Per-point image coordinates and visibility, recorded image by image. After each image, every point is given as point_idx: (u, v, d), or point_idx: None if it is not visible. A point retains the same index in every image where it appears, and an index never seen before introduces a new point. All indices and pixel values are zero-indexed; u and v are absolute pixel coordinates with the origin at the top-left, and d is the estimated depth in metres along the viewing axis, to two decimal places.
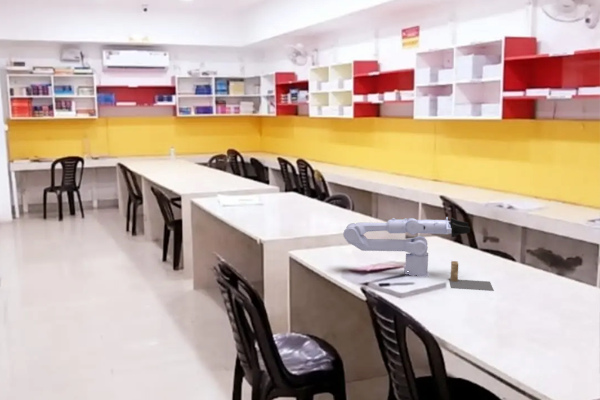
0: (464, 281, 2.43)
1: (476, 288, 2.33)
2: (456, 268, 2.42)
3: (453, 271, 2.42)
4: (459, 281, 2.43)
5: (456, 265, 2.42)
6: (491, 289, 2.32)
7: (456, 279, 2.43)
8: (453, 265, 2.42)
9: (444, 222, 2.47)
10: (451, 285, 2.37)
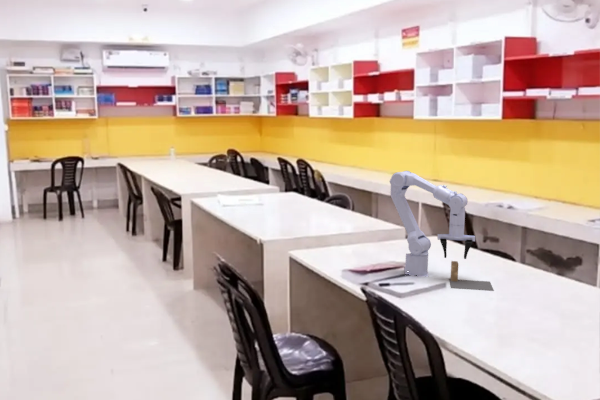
0: (464, 281, 2.43)
1: (476, 288, 2.33)
2: (456, 268, 2.42)
3: (453, 271, 2.42)
4: (459, 281, 2.43)
5: (456, 265, 2.42)
6: (491, 289, 2.32)
7: (456, 279, 2.43)
8: (453, 265, 2.42)
9: (452, 234, 2.41)
10: (451, 285, 2.37)
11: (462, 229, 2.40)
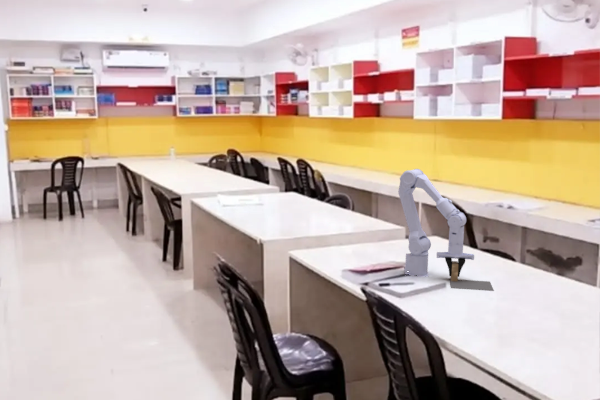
0: (464, 281, 2.43)
1: (476, 288, 2.33)
2: (456, 268, 2.42)
3: (453, 271, 2.42)
4: (459, 281, 2.43)
5: (456, 265, 2.42)
6: (491, 289, 2.32)
7: (456, 279, 2.43)
8: (453, 265, 2.42)
9: (451, 253, 2.42)
10: (451, 285, 2.37)
11: (461, 248, 2.41)
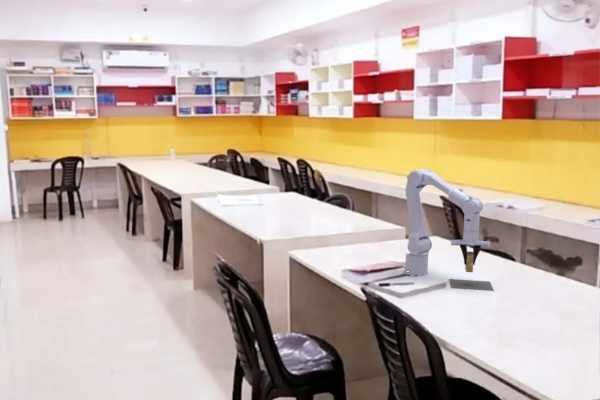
0: (464, 281, 2.43)
1: (476, 288, 2.33)
2: (472, 258, 2.34)
3: (468, 262, 2.35)
4: (459, 281, 2.43)
5: (471, 255, 2.34)
6: (491, 289, 2.32)
7: (471, 270, 2.35)
8: (468, 255, 2.34)
9: (466, 240, 2.34)
10: (451, 285, 2.37)
11: (477, 235, 2.33)
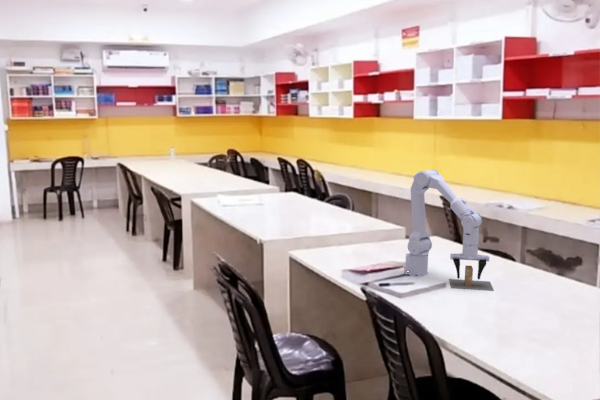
0: (464, 281, 2.43)
1: (476, 288, 2.33)
2: (471, 272, 2.35)
3: (467, 276, 2.36)
4: (459, 281, 2.43)
5: (470, 270, 2.35)
6: (491, 289, 2.32)
7: (470, 284, 2.36)
8: (467, 270, 2.35)
9: (466, 254, 2.35)
10: (451, 285, 2.37)
11: (476, 249, 2.34)
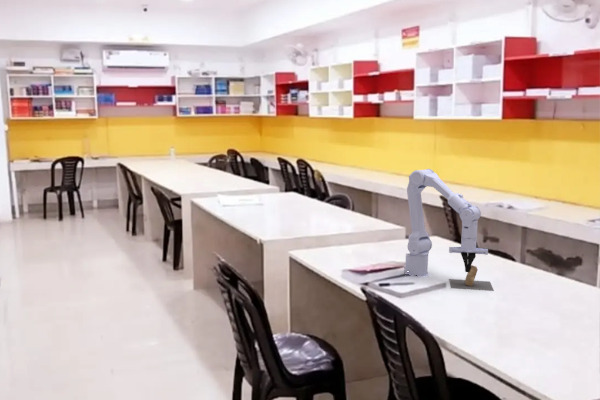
0: (464, 281, 2.43)
1: (476, 288, 2.33)
2: (475, 273, 2.35)
3: (470, 275, 2.35)
4: (459, 281, 2.43)
5: (475, 270, 2.35)
6: (491, 289, 2.32)
7: (471, 284, 2.36)
8: (472, 269, 2.35)
9: (464, 247, 2.34)
10: (451, 285, 2.37)
11: (474, 242, 2.34)
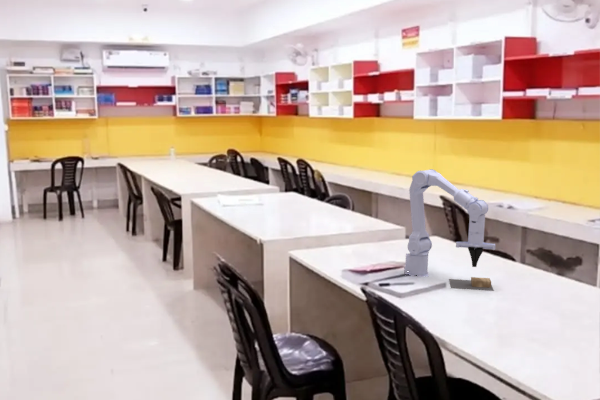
0: (464, 281, 2.43)
1: (476, 288, 2.33)
2: (486, 286, 2.35)
3: (483, 282, 2.35)
4: (459, 281, 2.43)
5: (489, 285, 2.35)
6: (491, 289, 2.32)
7: (474, 285, 2.36)
8: (489, 282, 2.34)
9: (472, 242, 2.33)
10: (451, 285, 2.37)
11: (482, 237, 2.32)
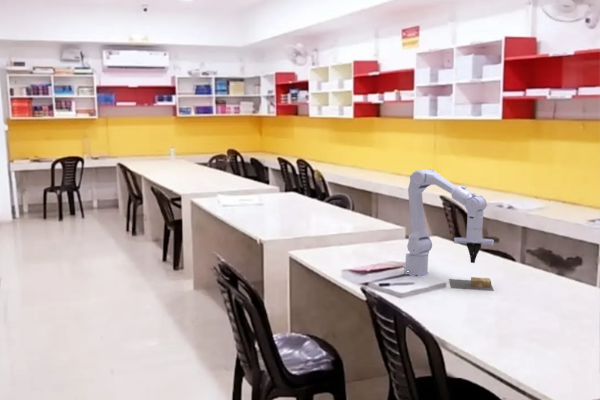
0: (464, 281, 2.43)
1: (476, 288, 2.33)
2: (486, 286, 2.35)
3: (483, 282, 2.35)
4: (459, 281, 2.43)
5: (489, 285, 2.35)
6: (491, 289, 2.32)
7: (474, 285, 2.36)
8: (489, 282, 2.34)
9: (470, 238, 2.32)
10: (451, 285, 2.37)
11: (480, 232, 2.31)
